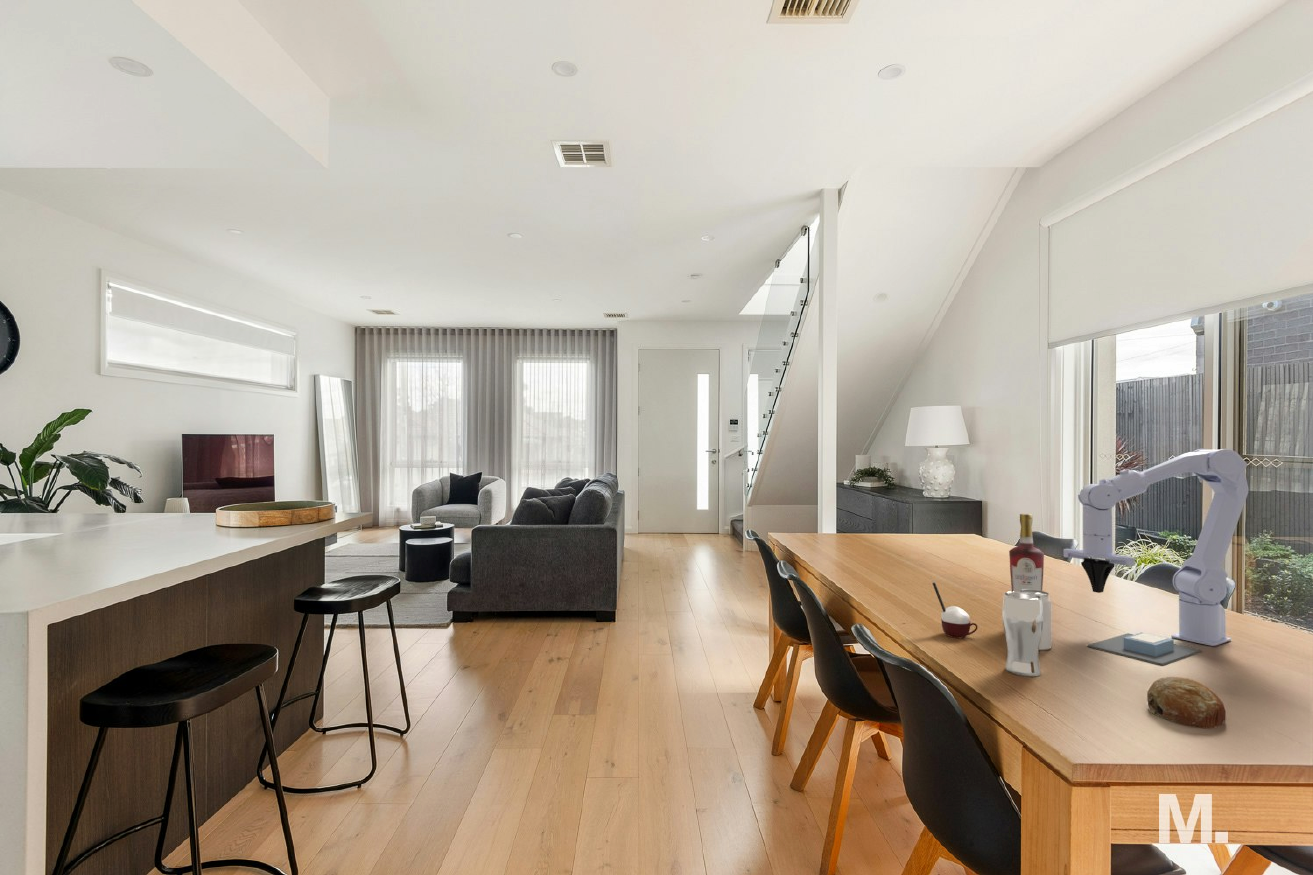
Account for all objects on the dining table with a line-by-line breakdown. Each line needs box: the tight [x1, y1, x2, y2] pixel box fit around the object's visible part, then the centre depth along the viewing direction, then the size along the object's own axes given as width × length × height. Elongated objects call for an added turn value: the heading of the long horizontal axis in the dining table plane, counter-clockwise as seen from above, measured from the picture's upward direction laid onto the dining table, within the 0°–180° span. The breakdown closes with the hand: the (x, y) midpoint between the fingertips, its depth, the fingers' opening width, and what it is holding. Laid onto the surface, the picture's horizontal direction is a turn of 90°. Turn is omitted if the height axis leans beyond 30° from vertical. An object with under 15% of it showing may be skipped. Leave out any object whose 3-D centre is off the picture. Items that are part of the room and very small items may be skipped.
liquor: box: [1008, 513, 1045, 592], centre depth 154 cm, size 7×7×28 cm
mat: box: [1087, 632, 1203, 666], centre depth 139 cm, size 18×14×1 cm
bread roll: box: [1146, 676, 1227, 729], centre depth 105 cm, size 10×10×8 cm
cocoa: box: [932, 580, 978, 639], centre depth 149 cm, size 10×6×12 cm, turn 41°
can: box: [1020, 590, 1052, 651], centre depth 141 cm, size 6×6×12 cm
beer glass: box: [1002, 591, 1043, 678], centre depth 125 cm, size 7×7×15 cm
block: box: [1124, 632, 1175, 657], centre depth 137 cm, size 8×3×6 cm
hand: (1098, 591), depth 151 cm, fingers closed
